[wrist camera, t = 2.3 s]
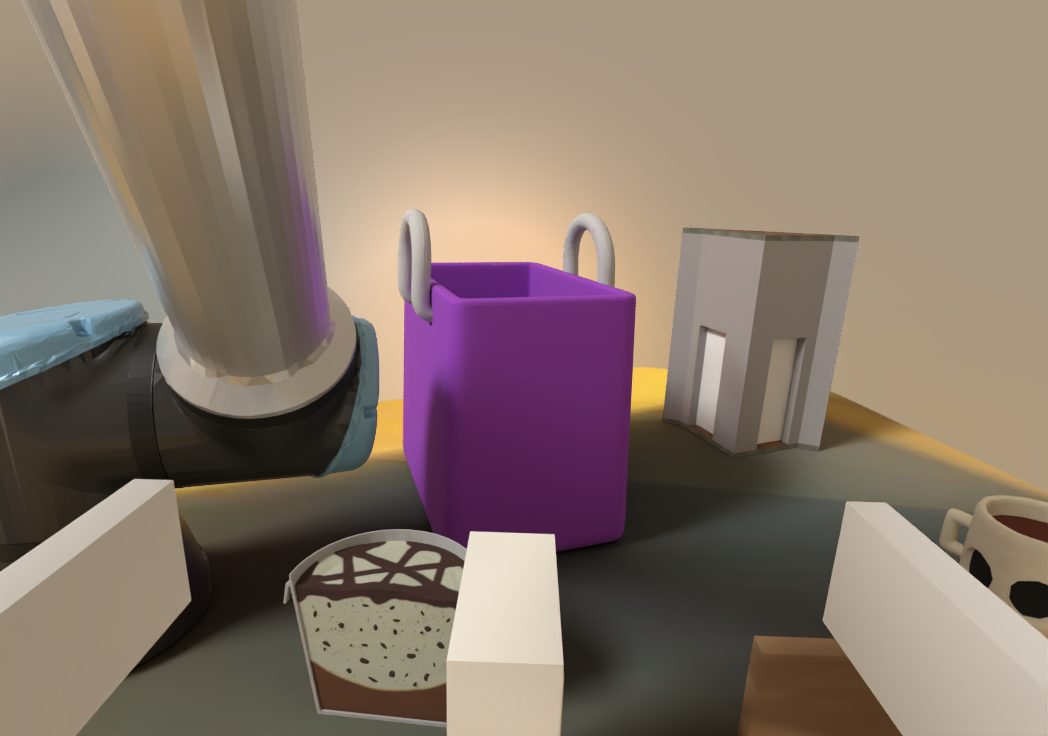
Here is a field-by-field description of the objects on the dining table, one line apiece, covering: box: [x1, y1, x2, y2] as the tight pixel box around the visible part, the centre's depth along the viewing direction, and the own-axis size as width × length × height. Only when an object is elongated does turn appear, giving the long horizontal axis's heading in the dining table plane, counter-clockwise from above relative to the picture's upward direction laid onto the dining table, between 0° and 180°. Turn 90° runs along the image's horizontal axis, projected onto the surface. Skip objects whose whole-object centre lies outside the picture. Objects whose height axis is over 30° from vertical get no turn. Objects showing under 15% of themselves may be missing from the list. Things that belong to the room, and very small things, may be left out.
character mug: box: [939, 495, 1048, 639], centre depth 38 cm, size 11×7×13 cm, turn 24°
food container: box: [283, 529, 467, 728], centre depth 37 cm, size 12×6×10 cm, turn 85°
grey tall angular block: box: [663, 228, 859, 458], centre depth 75 cm, size 21×10×28 cm, turn 64°
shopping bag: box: [398, 209, 636, 552], centre depth 59 cm, size 28×22×30 cm
